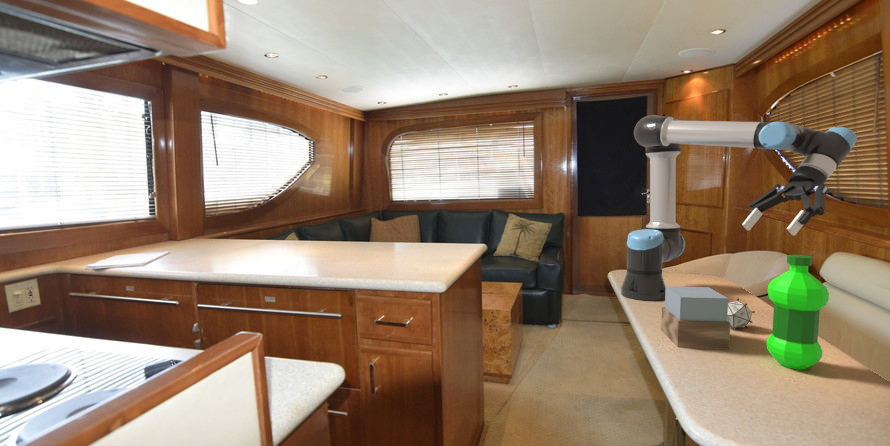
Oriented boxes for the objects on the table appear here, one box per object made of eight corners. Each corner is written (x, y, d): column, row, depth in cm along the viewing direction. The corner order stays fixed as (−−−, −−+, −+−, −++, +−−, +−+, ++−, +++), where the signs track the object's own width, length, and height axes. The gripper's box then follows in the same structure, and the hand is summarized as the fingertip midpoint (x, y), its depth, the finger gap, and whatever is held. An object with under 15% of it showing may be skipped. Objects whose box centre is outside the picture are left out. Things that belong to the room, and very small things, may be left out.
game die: (742, 342, 121) (766, 321, 114) (711, 330, 122) (733, 309, 116) (737, 318, 127) (759, 297, 121) (708, 307, 129) (728, 286, 122)
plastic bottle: (829, 366, 97) (837, 256, 94) (810, 379, 91) (818, 262, 88) (776, 352, 105) (782, 250, 102) (756, 362, 99) (762, 255, 97)
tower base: (661, 331, 121) (662, 306, 120) (707, 332, 119) (708, 308, 119) (677, 347, 109) (678, 321, 109) (728, 349, 108) (730, 322, 107)
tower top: (664, 307, 120) (665, 286, 119) (707, 308, 118) (708, 287, 118) (679, 320, 109) (680, 297, 109) (727, 321, 107) (728, 298, 107)
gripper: (869, 182, 111) (820, 243, 110) (777, 183, 136) (736, 233, 134) (854, 162, 110) (804, 224, 108) (763, 167, 134) (722, 217, 132)
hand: (766, 229), depth 121 cm, fingers open, 13 cm apart
